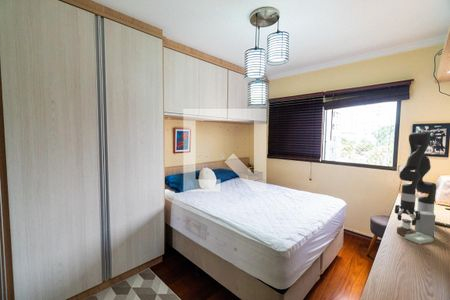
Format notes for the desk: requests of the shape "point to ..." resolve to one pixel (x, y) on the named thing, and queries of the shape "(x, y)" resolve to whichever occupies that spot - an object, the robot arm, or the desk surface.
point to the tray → (419, 238)
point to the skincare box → (426, 224)
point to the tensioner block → (405, 231)
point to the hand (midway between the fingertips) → (406, 222)
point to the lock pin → (406, 224)
